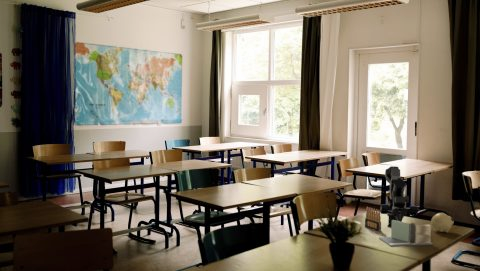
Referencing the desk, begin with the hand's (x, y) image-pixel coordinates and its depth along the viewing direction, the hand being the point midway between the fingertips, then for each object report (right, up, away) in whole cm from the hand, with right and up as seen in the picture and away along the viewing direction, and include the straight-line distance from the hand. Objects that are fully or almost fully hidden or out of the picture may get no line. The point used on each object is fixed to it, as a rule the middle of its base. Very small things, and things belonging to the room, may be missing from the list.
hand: (400, 223), depth 245 cm
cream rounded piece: (+28, -7, +14) cm, 32 cm away
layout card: (+1, -8, -4) cm, 9 cm away
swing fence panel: (-1, -7, -3) cm, 8 cm away
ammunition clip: (-9, -7, +19) cm, 22 cm away
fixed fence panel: (+7, -8, -8) cm, 13 cm away
